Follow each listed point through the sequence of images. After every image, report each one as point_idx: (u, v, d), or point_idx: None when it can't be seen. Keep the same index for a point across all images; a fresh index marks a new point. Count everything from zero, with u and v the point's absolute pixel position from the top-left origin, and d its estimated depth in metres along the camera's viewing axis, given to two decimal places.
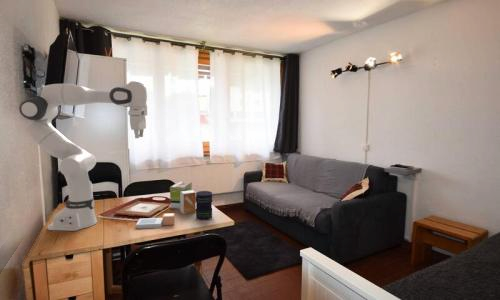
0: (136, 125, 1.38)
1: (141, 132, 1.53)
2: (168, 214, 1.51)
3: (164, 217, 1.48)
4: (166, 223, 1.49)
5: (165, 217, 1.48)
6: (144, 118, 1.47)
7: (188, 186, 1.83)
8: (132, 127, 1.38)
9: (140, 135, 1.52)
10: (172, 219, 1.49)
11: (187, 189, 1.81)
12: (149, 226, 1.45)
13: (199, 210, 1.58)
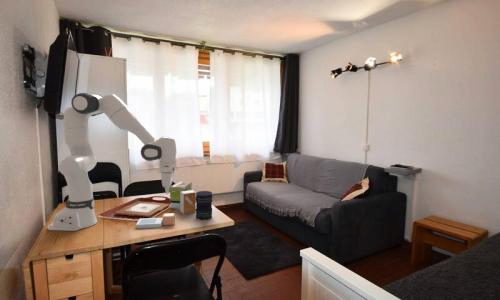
0: (168, 183, 1.39)
1: (169, 184, 1.54)
2: (168, 214, 1.51)
3: (164, 217, 1.48)
4: (166, 223, 1.49)
5: (165, 217, 1.48)
6: None
7: (188, 186, 1.83)
8: (164, 185, 1.39)
9: (169, 187, 1.53)
10: (172, 219, 1.49)
11: (187, 189, 1.81)
12: (149, 226, 1.45)
13: (199, 210, 1.58)
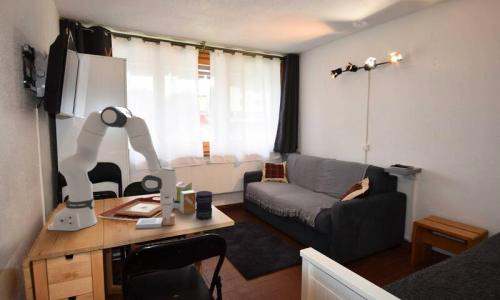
0: (168, 214, 1.41)
1: None
2: None
3: None
4: (166, 223, 1.49)
5: None
6: None
7: (188, 186, 1.83)
8: (164, 216, 1.41)
9: None
10: (172, 219, 1.49)
11: (187, 189, 1.81)
12: (149, 226, 1.45)
13: (199, 210, 1.58)
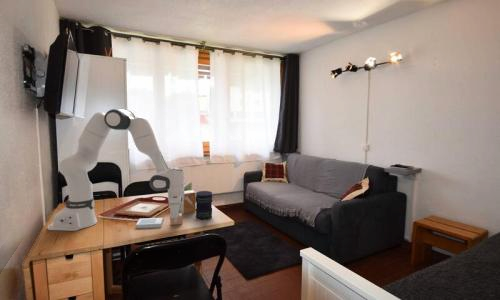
0: (176, 214, 1.42)
1: None
2: None
3: None
4: (173, 223, 1.50)
5: None
6: None
7: (188, 186, 1.83)
8: (172, 216, 1.41)
9: None
10: (180, 219, 1.50)
11: (187, 189, 1.81)
12: (149, 226, 1.45)
13: (199, 210, 1.58)
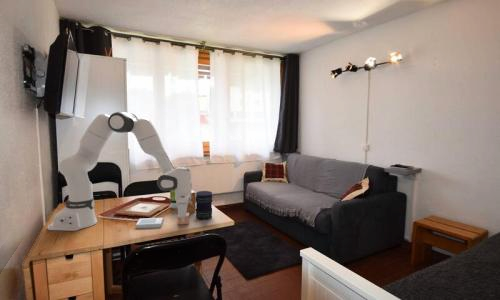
0: (184, 213, 1.42)
1: None
2: None
3: None
4: (180, 222, 1.50)
5: None
6: None
7: None
8: (180, 215, 1.42)
9: None
10: (187, 218, 1.51)
11: None
12: (149, 226, 1.45)
13: (199, 210, 1.58)
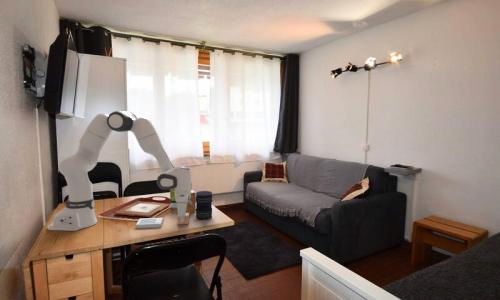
0: (183, 212, 1.42)
1: None
2: None
3: None
4: (180, 222, 1.50)
5: None
6: (188, 200, 1.52)
7: None
8: (179, 214, 1.42)
9: None
10: (187, 218, 1.51)
11: None
12: (149, 226, 1.45)
13: (199, 210, 1.58)
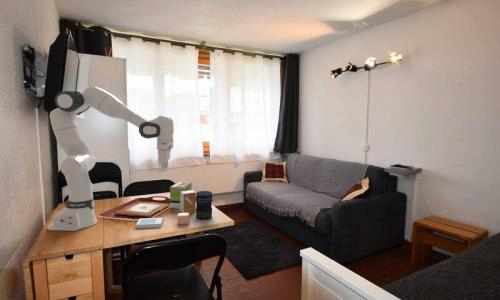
0: (164, 159, 1.43)
1: (166, 163, 1.58)
2: (183, 213, 1.53)
3: (179, 216, 1.50)
4: (180, 222, 1.50)
5: (180, 216, 1.50)
6: None
7: (188, 186, 1.83)
8: (160, 161, 1.43)
9: (165, 166, 1.57)
10: (187, 218, 1.51)
11: (187, 189, 1.81)
12: (149, 226, 1.45)
13: (199, 210, 1.58)
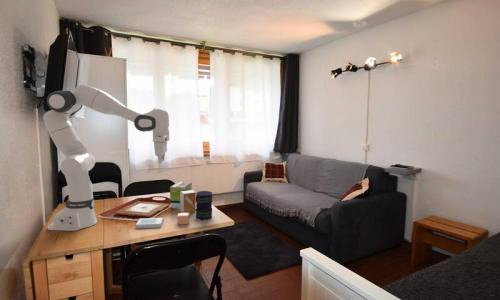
0: (160, 151, 1.43)
1: (163, 156, 1.59)
2: (183, 213, 1.53)
3: (179, 216, 1.50)
4: (180, 222, 1.50)
5: (180, 216, 1.50)
6: (166, 143, 1.53)
7: (188, 186, 1.83)
8: (156, 153, 1.43)
9: (162, 159, 1.58)
10: (187, 218, 1.51)
11: (187, 189, 1.81)
12: (149, 226, 1.45)
13: (199, 210, 1.58)
